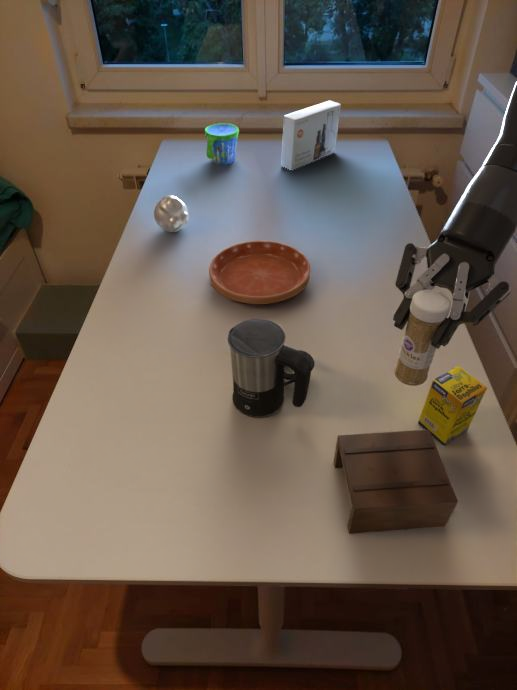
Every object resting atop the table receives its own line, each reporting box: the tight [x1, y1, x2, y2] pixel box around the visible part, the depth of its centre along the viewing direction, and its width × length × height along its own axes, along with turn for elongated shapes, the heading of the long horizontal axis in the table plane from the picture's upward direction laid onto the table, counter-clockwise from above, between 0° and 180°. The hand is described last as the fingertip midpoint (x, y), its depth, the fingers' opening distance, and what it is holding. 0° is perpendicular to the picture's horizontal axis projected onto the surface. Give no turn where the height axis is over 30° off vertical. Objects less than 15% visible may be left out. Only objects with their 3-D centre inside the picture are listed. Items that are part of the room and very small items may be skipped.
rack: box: [333, 429, 459, 535], centre depth 73 cm, size 14×12×7 cm
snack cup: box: [204, 122, 240, 165], centre depth 161 cm, size 16×10×10 cm
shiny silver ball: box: [153, 195, 190, 233], centre depth 129 cm, size 9×10×10 cm
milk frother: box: [227, 318, 315, 418], centre depth 87 cm, size 14×16×15 cm
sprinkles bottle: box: [393, 289, 452, 387], centre depth 65 cm, size 5×5×13 cm
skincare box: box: [280, 100, 342, 171], centre depth 159 cm, size 21×5×16 cm, turn 132°
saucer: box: [208, 240, 311, 305], centre depth 115 cm, size 23×23×4 cm
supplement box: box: [417, 365, 488, 447], centre depth 81 cm, size 6×6×11 cm
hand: (416, 336), depth 63 cm, fingers closed on sprinkles bottle, 4 cm apart
